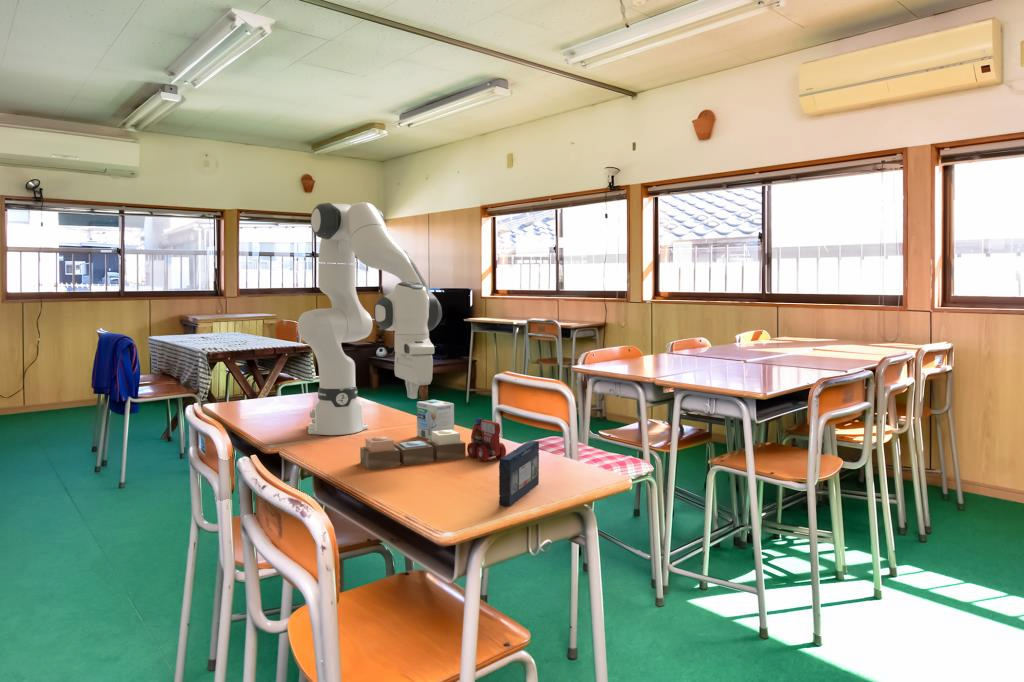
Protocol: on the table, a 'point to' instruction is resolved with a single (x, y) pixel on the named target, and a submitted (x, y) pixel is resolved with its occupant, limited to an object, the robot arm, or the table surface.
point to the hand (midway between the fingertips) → (412, 398)
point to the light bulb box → (434, 417)
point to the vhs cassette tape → (518, 473)
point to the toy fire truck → (485, 441)
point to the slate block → (413, 444)
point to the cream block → (445, 437)
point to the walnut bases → (412, 455)
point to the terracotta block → (379, 444)
